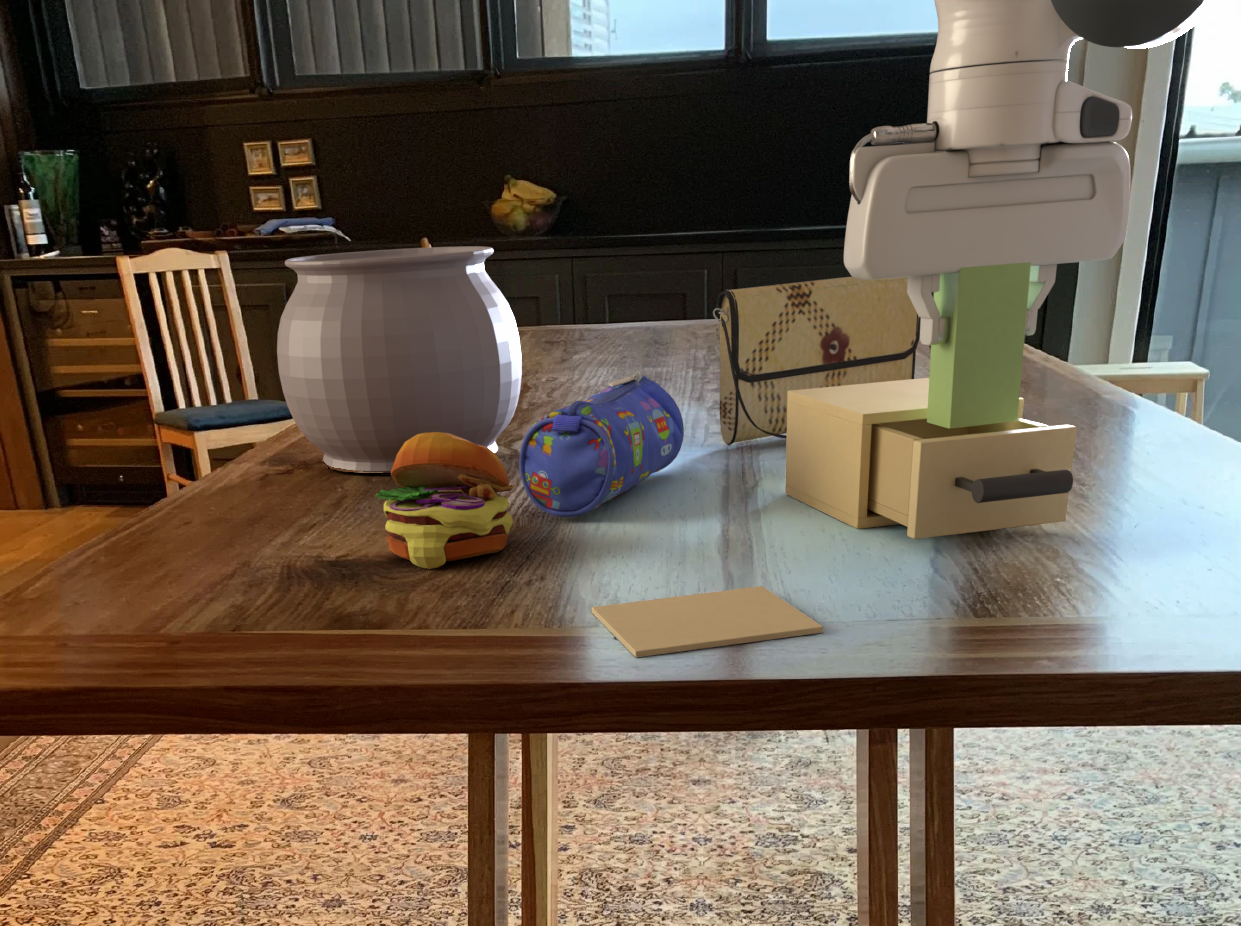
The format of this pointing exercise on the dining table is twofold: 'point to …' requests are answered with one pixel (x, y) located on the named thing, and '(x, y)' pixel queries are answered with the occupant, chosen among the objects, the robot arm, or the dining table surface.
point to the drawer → (970, 475)
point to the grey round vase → (397, 352)
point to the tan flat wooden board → (703, 621)
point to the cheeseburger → (446, 501)
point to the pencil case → (600, 446)
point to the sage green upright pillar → (979, 346)
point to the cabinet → (845, 443)
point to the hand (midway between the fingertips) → (977, 339)
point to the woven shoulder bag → (808, 345)
